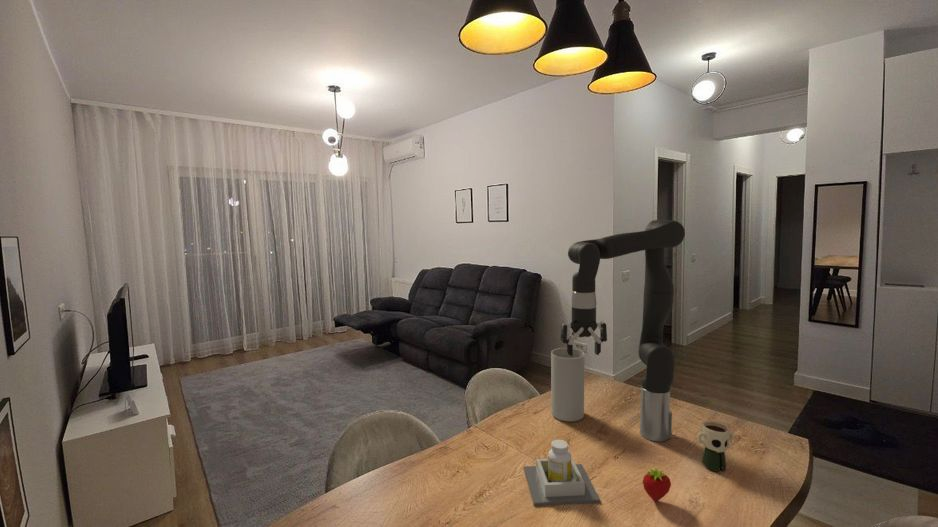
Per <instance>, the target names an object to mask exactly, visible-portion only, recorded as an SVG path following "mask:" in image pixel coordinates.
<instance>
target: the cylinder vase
mask: <svg viewBox="0 0 938 527" xmlns="http://www.w3.org/2000/svg"><path fill="white" fill-rule="evenodd" d="M585 360H586V359H585V352H584V351H582V350H580V349H578V348H574V347H573V356H570V355H569V354H568V353H567V347H558V348H555V349H552V350H551V352H550V362H551V363H550V365H551V366H550V367H551V368H550V375H551V376H550V379H551V380H550V381H551V382H550V383H551V384H550V387H551V388H550V391H551V392H550V393H551V394H550V399H551V400H550V402H551V403H550V404H551V406H550V407H551V408H550V409H551V410H550V412H551V415H552V416H553V417H554V418H555V419H557V420H559V421H563V422H569V423H572V422H578V421H581V420H582V419H583V418H584V416H585V367H586V366H585Z"/></svg>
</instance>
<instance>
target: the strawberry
mask: <svg viewBox="0 0 938 527" xmlns="http://www.w3.org/2000/svg"><path fill="white" fill-rule="evenodd" d="M648 469H649V470H650V471H646V474H645V475H644V476H643V479H642V485H643V489H644V491H645V492H646V494H647V495H648V496H649V497H650V499H651V500H652V501H654V502H658V501H660V500H661V499H663V498H664V497H665V496H666V495H667V494H669V491H670V489H671V486H672V483H671V479H670V477H669V476H668V475H667V474H665V473H663V472H664V470H659V467H658V468H655V469H652V468H648Z"/></svg>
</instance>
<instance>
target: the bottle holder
mask: <svg viewBox="0 0 938 527" xmlns="http://www.w3.org/2000/svg"><path fill="white" fill-rule="evenodd" d="M583 466H584V465H583V464H582V463H575V460H574V458H573V457H571V482H549V479H548V458H537V459H535V465H530V466H529V465H527V466H523V471H524V475H525V479H526V482H527V485H528V490H529V493H530V495H531V496H530V497H531V500H532V503H533V506H551V505H573V504H574V505H575V504H594V503H595V504H597V503H598V504H599V503H601V499H600V497H599V495H598V493H597V491H596V489H595V487H594V485H593V484H592V482H591V479H590V477H589V476H588V474H587V472H586V470H585V468H584V467H583Z"/></svg>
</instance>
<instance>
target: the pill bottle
mask: <svg viewBox="0 0 938 527" xmlns="http://www.w3.org/2000/svg"><path fill="white" fill-rule="evenodd" d="M550 444H551V447H550V448H551V449H550V450H549V451H548V457H547V459H548V479H549V482H571V458H572V454H571V452H570V450H569V444H568V442H567V441H566V440H563V439H554V440H552V441H551V443H550Z"/></svg>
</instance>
